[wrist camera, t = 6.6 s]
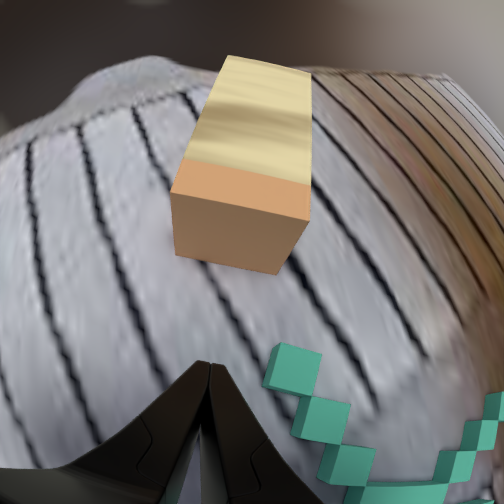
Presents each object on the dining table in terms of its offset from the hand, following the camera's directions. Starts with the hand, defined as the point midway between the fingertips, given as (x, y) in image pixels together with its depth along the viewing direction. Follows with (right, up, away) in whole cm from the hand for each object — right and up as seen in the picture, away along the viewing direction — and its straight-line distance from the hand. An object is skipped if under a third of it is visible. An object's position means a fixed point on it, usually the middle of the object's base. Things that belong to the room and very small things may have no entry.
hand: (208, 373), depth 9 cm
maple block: (0, +4, +7) cm, 8 cm away
